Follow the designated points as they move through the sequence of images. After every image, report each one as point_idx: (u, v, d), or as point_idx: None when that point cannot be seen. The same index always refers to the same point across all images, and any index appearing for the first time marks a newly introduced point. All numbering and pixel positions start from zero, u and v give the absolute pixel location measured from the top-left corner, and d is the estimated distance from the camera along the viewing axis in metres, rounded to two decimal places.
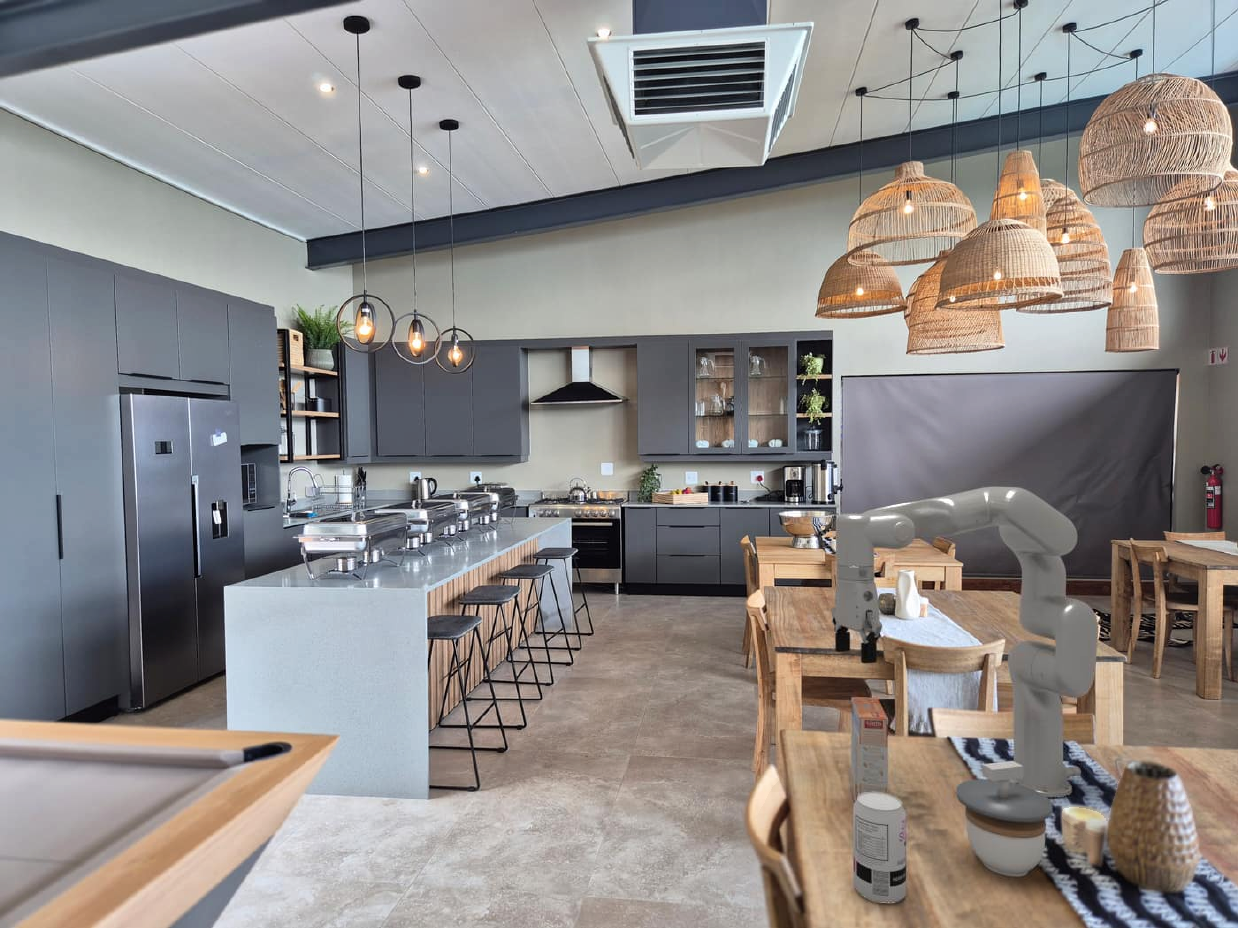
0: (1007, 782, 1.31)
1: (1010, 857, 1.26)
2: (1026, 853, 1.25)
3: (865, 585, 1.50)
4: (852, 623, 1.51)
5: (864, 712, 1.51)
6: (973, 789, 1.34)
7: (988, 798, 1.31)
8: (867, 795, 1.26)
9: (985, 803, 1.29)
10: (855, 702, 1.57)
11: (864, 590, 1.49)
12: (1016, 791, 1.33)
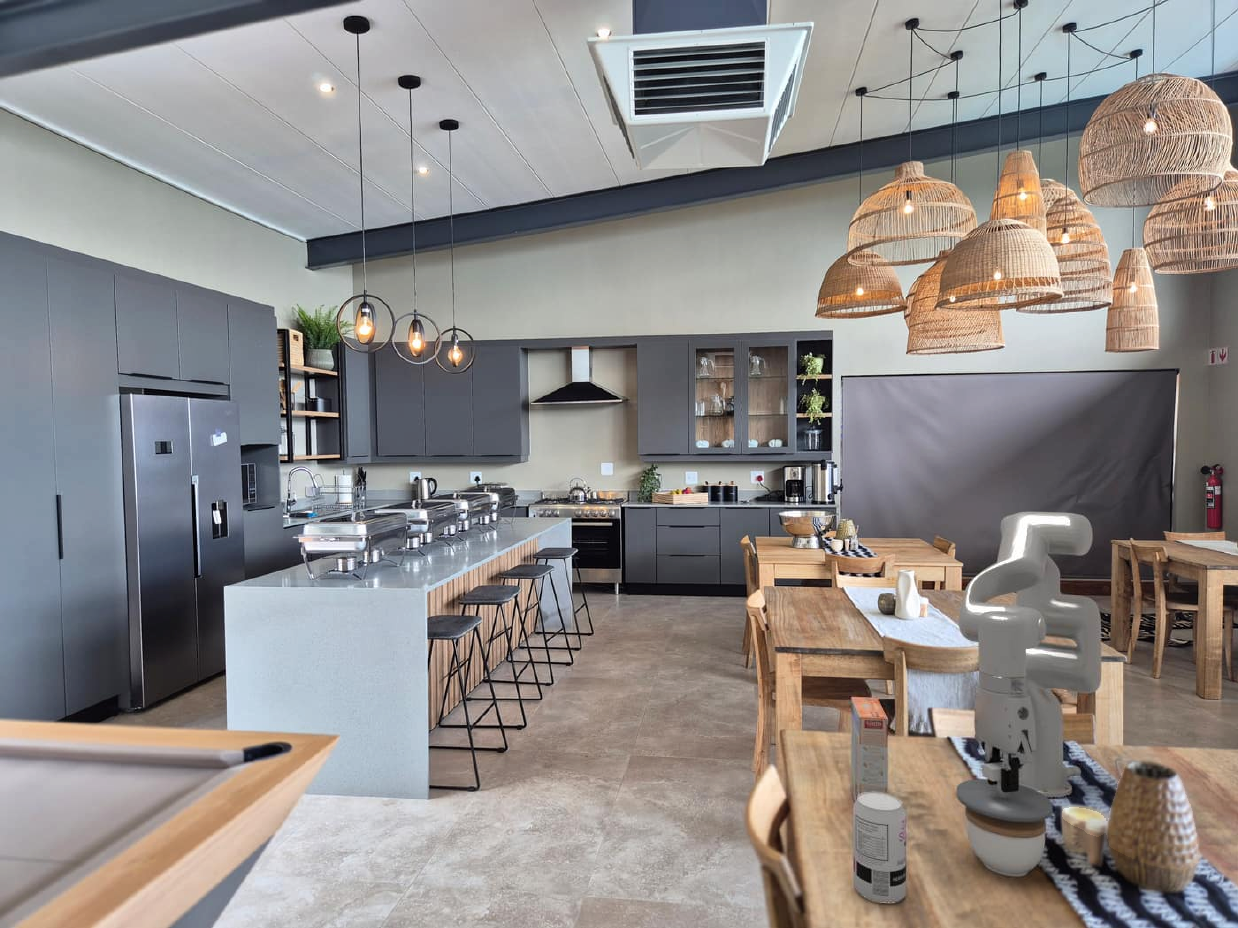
0: None
1: (1010, 857, 1.26)
2: (1026, 853, 1.25)
3: (1019, 700, 1.27)
4: (1003, 743, 1.29)
5: (863, 712, 1.51)
6: (973, 789, 1.34)
7: (988, 798, 1.31)
8: (867, 795, 1.26)
9: (985, 803, 1.29)
10: (855, 702, 1.57)
11: (1018, 706, 1.27)
12: (1016, 791, 1.33)
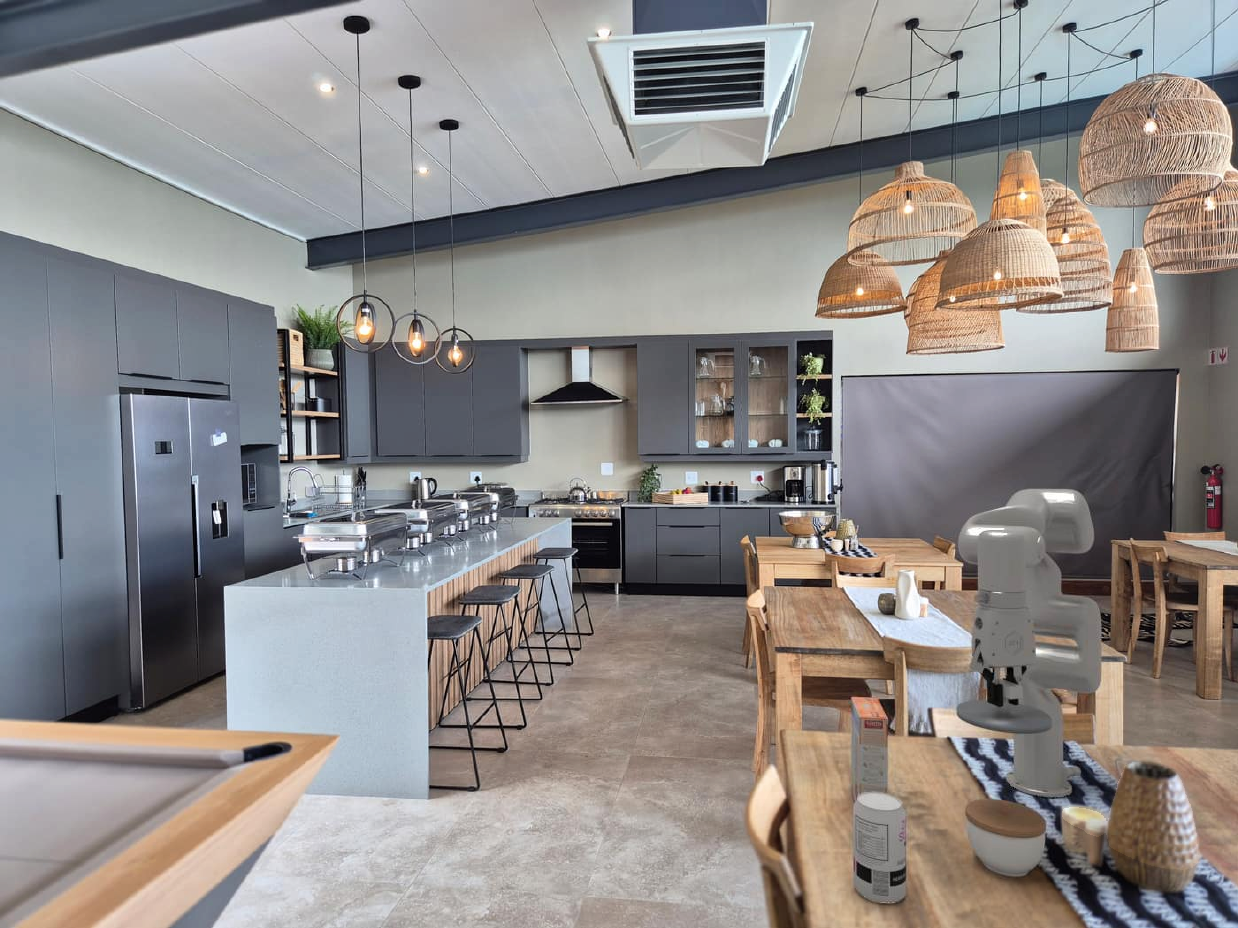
0: None
1: (1010, 857, 1.26)
2: (1026, 853, 1.25)
3: (978, 610, 1.31)
4: None
5: (864, 712, 1.51)
6: (1008, 706, 1.36)
7: (990, 707, 1.35)
8: (867, 795, 1.26)
9: (975, 705, 1.36)
10: (855, 702, 1.57)
11: (976, 616, 1.32)
12: (1023, 719, 1.29)
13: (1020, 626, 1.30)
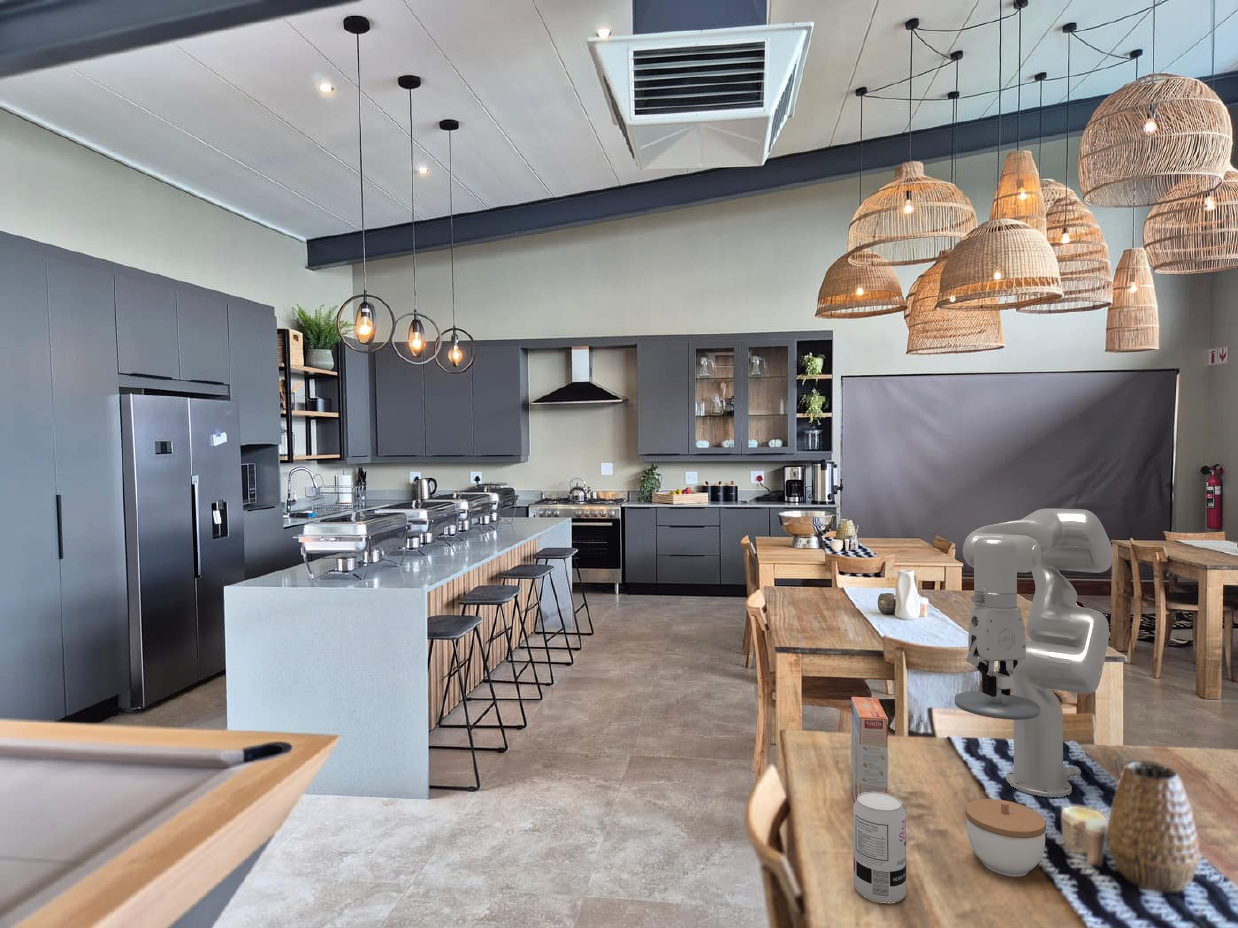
0: None
1: (1010, 857, 1.26)
2: (1026, 853, 1.25)
3: (974, 610, 1.46)
4: None
5: (864, 712, 1.51)
6: (1001, 696, 1.50)
7: (985, 697, 1.50)
8: (867, 795, 1.26)
9: (971, 695, 1.51)
10: (855, 702, 1.57)
11: (973, 614, 1.46)
12: (1014, 707, 1.43)
13: (1012, 624, 1.44)
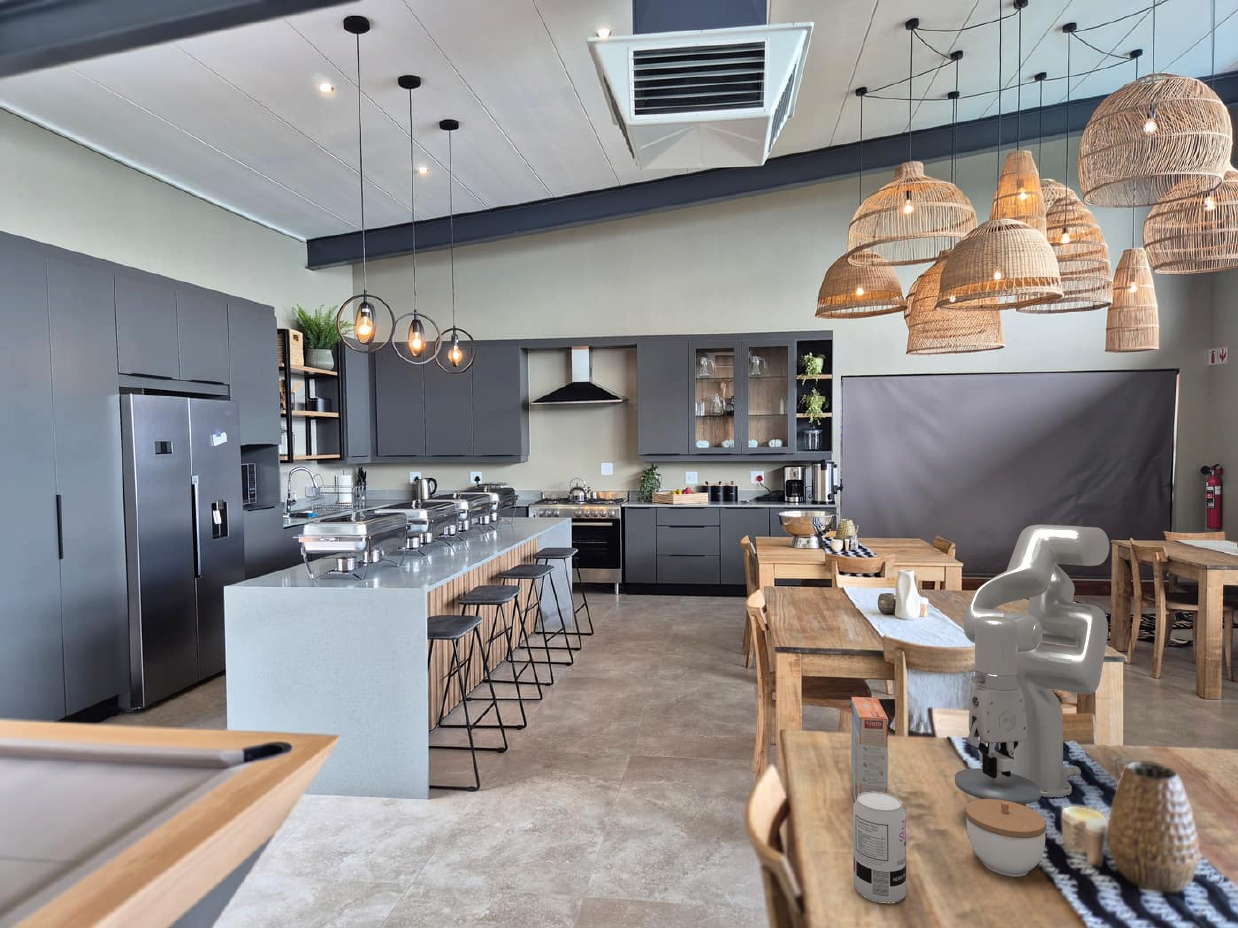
0: None
1: (1010, 857, 1.26)
2: (1026, 853, 1.25)
3: (975, 690, 1.46)
4: None
5: (864, 712, 1.51)
6: (1001, 775, 1.50)
7: (985, 776, 1.49)
8: (867, 795, 1.26)
9: (971, 773, 1.51)
10: (855, 702, 1.57)
11: (973, 695, 1.46)
12: (1014, 789, 1.43)
13: (1012, 705, 1.44)
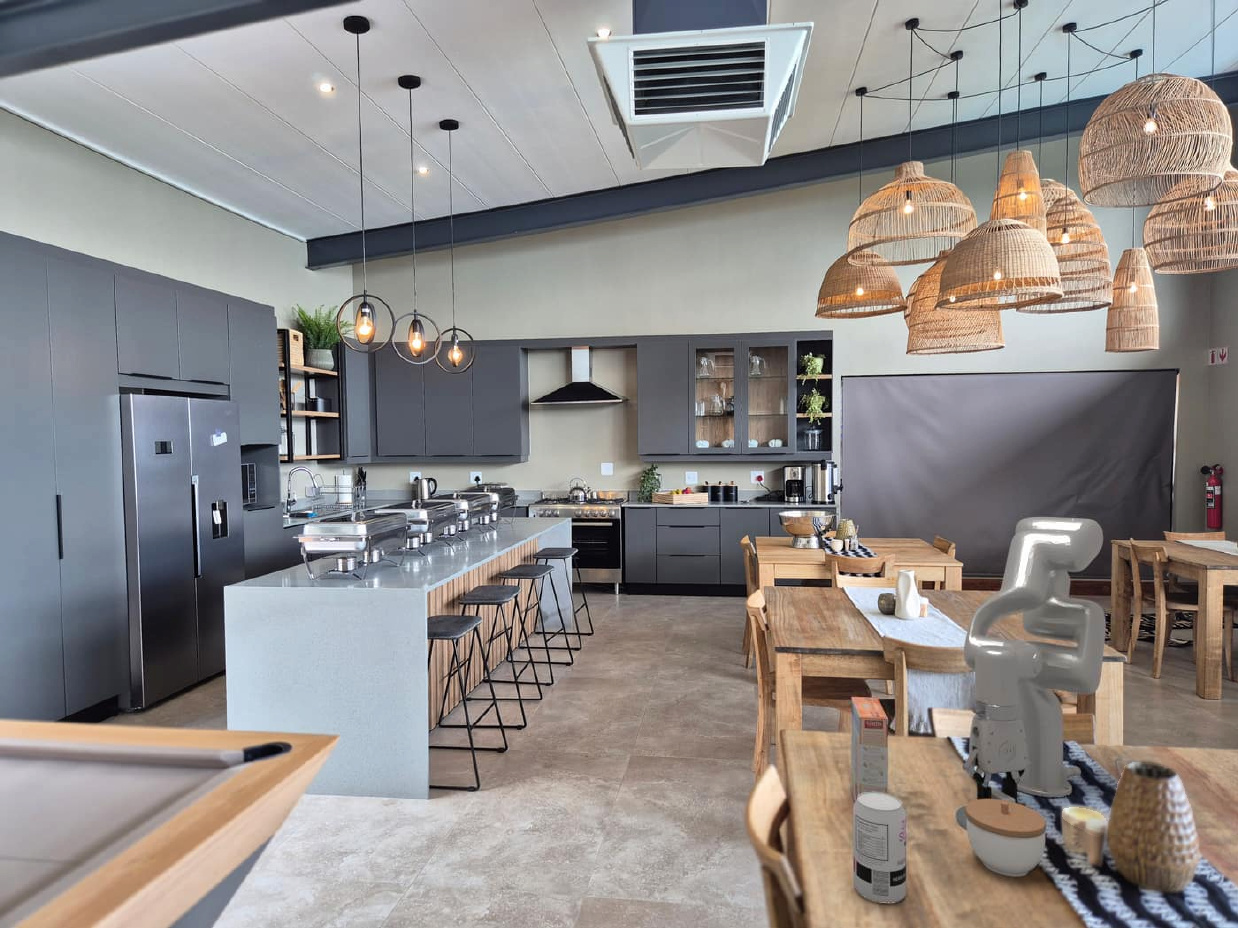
0: None
1: (1010, 857, 1.26)
2: (1026, 853, 1.25)
3: (975, 720, 1.46)
4: None
5: (864, 712, 1.51)
6: None
7: None
8: (867, 795, 1.26)
9: None
10: (855, 702, 1.57)
11: (974, 724, 1.46)
12: None
13: (1013, 736, 1.44)
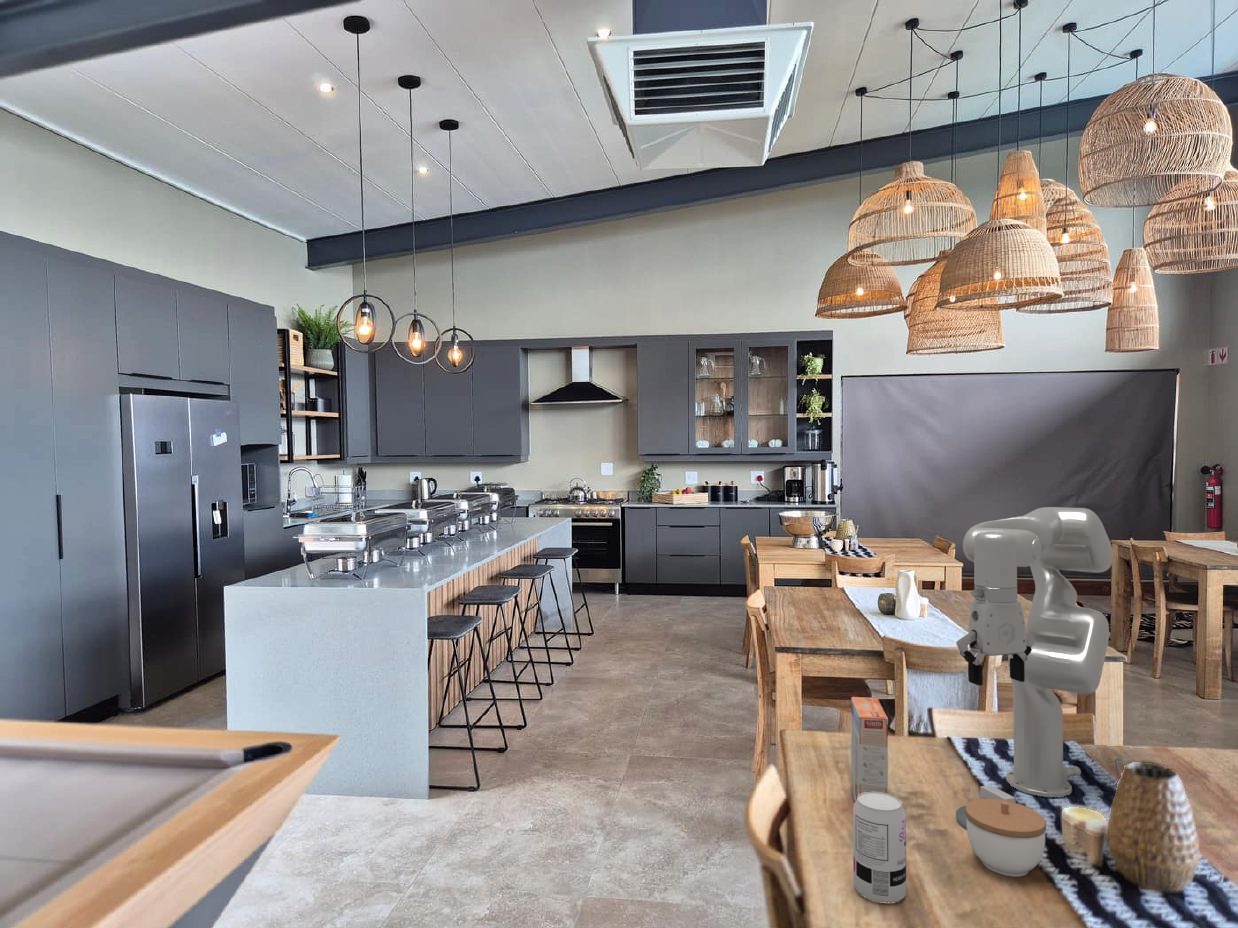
0: None
1: (1010, 857, 1.26)
2: (1026, 853, 1.25)
3: (975, 604, 1.46)
4: None
5: (863, 712, 1.51)
6: None
7: None
8: (867, 795, 1.26)
9: None
10: (855, 702, 1.57)
11: (973, 609, 1.47)
12: None
13: (1012, 618, 1.45)
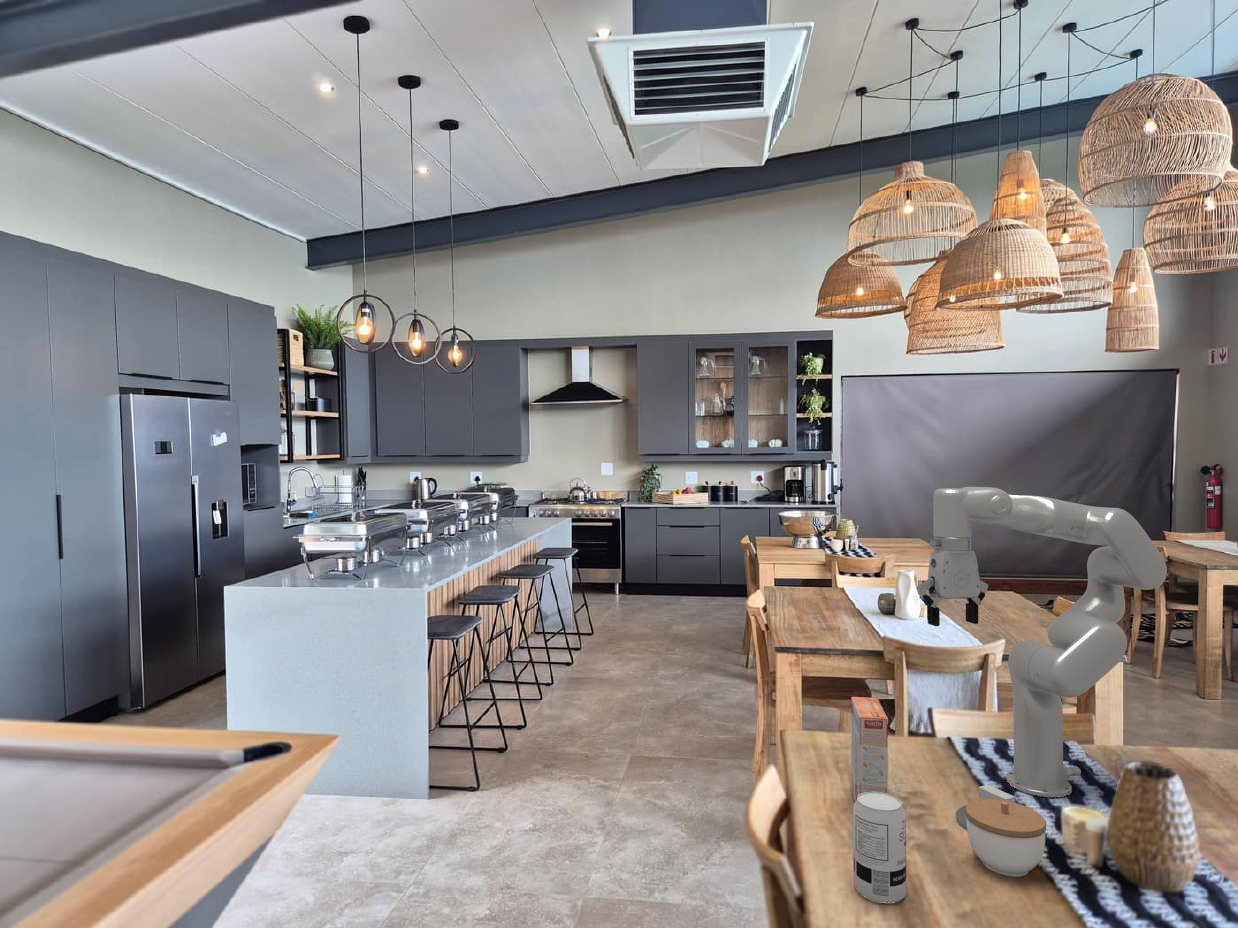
0: None
1: (1010, 857, 1.26)
2: (1026, 853, 1.25)
3: (933, 553, 1.61)
4: None
5: (864, 712, 1.51)
6: None
7: None
8: (867, 795, 1.26)
9: None
10: (855, 702, 1.57)
11: (932, 557, 1.62)
12: None
13: (966, 565, 1.60)
